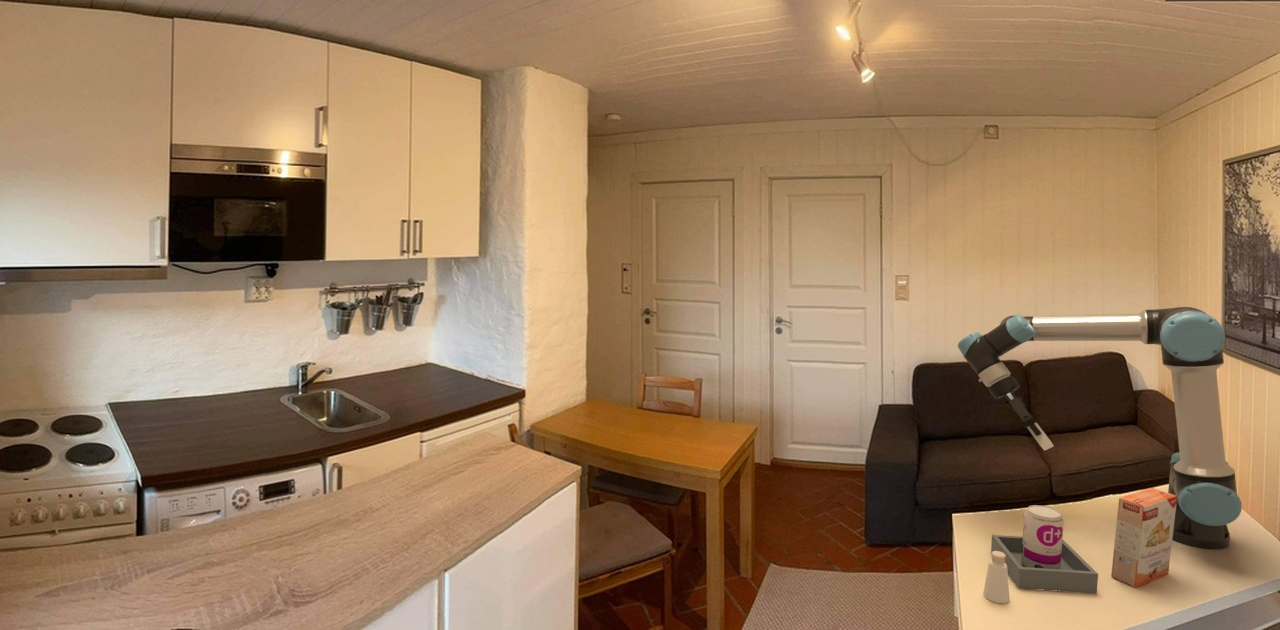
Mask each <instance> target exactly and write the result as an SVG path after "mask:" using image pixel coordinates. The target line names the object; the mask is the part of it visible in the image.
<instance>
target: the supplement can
mask: <svg viewBox="0 0 1280 630" xmlns="http://www.w3.org/2000/svg"><path fill="white" fill-rule="evenodd" d="M1064 522H1065V520H1064V518H1063V516H1062V514H1061V512H1060V511H1059V510H1057V509H1055V508H1053V507H1050V506H1046V505H1042V504H1041V505H1037V504H1034V505H1028V507H1027V509H1026V510H1025V511H1024V515H1023V528H1022V531H1023V532H1022V536H1023V542H1022V558H1021V561H1022V564H1023V565H1025V567H1030V568H1045V569H1060V567H1061V553H1062V539H1063V537H1064V525H1065V523H1064ZM1063 540H1064V539H1063Z"/></svg>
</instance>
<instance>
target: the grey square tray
mask: <svg viewBox="0 0 1280 630" xmlns="http://www.w3.org/2000/svg"><path fill="white" fill-rule="evenodd" d="M1022 542H1023V535H1022V536H1019V535H1005V534H1004V535H1001V534H991V547H990V548H991V549H990V553H991V554H992V552H993V551H1000V552H1002V553H1004V554H1005V555H1006V557H1005V563H1006V565H1007V569H1008V578H1009V579H1010V580H1012V582H1013V584H1014V585H1015V586H1016V587H1017V589H1020V590H1021V589H1022V590H1023V588H1024V589H1025V590H1034V589H1044V590H1043V591H1049V590H1057V591H1056V592H1063V591H1066V593H1078V592H1079V593H1081V594H1092V595H1093V594H1098V583H1099V573H1098V572H1097V571H1096V570H1095V569H1094V568H1093V567H1092V566H1091V565H1090V564H1089V563H1088V562H1087V561H1085V560H1084V559H1083V557H1082V556H1081V555H1079V553H1077V551H1075V549H1073V548H1072V546H1070V545H1069V544H1068V543H1067V542H1066V541H1065V540H1064V539H1062V553H1061V567H1060V569H1045V568H1030V567H1025V565H1023V564H1022V561H1021V558H1022ZM1059 590H1060V591H1059Z"/></svg>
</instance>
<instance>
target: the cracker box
mask: <svg viewBox="0 0 1280 630" xmlns="http://www.w3.org/2000/svg"><path fill="white" fill-rule="evenodd" d="M1176 504H1177V496H1176V495H1173V494H1170V493H1168V491H1163V490H1160V489H1157V488H1154V487H1150V488H1146V489H1143V490H1139V491H1137V492H1134V493H1131V494H1128V495H1124V496H1120V497H1119V498H1118V507H1117V515H1116V526H1115V536H1114V545H1113V553H1112V555H1113V556H1112V565H1111V566H1112V567H1111V578H1114V579H1116V580H1118V581H1120V582H1122V583H1125V584H1127V585H1128V586H1131V587H1134V588H1138V587H1140V586H1143V585H1145V584H1147V583H1150V582H1153V581H1154V580H1157V579H1159V578H1163V577H1165V576H1167V575H1169V571H1170V560H1171V554H1172V545H1173V539H1172V538H1173V529H1174V521H1175V512H1176Z"/></svg>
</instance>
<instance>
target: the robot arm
mask: <svg viewBox="0 0 1280 630" xmlns="http://www.w3.org/2000/svg"><path fill="white" fill-rule="evenodd" d="M1043 341H1044V342H1047V341H1050V342H1054V341H1055V342H1056V341H1057V342H1059V341H1061V342H1066V341H1067V342H1069V341H1070V342H1073V341H1074V342H1083V341H1084V342H1089V341H1091V342H1096V341H1097V342H1098V341H1099V342H1103V341H1105V342H1110V341H1111V342H1113V341H1114V342H1115V341H1116V342H1117V341H1118V342H1120V341H1125V342H1127V341H1128V342H1132V341H1133V342H1135V341H1136V342H1137V341H1138V342H1139V341H1140V342H1141V343H1143V344H1144V345H1159V346H1160V351H1161V360H1162V365H1163V366H1164V367H1166V368H1167V369H1168V370H1170V372H1171V373H1170V374H1171V381H1172V390H1173V401H1174V411H1175V422H1176V429H1177V431H1176V432H1177V440H1178V441H1177V442H1178V449H1179V450H1178V451H1179V452H1174V453H1173V454H1172V455H1171V459H1170V461H1169V464H1170V470H1169V478H1168V488H1167V489H1168V490H1167V493H1170V494H1173V495H1176V496H1177V504H1176V512H1175V521H1174V529H1173V538H1172V541H1173V540H1174V541H1176V542H1178V543H1181V544H1185V545H1188V546H1193V547H1198V548H1203V549H1212V550H1215V549H1217V550H1220V549H1225V548H1228V547H1229V546H1230V544H1231V543H1230V542H1231V534H1230V532H1229V528H1228V526H1227V525H1228V524H1231V523H1233V522H1235V521H1236V520H1237V519H1238V518H1239V517H1240V516H1241V513H1242V507H1243V505H1242V501H1241V498H1240V497H1239V495H1238V493H1237V492H1238V491H1237V481H1236V480H1237V479H1236V471H1235V469H1234V468H1233V467H1232V466H1230V465H1229V463H1228V461H1226V455H1225V453H1226V452H1225V445H1224V433H1223V426H1222V425H1223V424H1222V414H1221V404H1220V395H1219V394H1220V393H1219V385H1218V375H1217V370H1218V369H1219V368H1221V366H1223V365H1224V364H1225V362H1224V350H1223V349H1224V344H1225V341H1226V333H1225V330H1224V328H1223V326H1222V325H1221V324H1220V322H1219V321H1218V320H1217V319H1216V318H1214V317H1213V316H1211V315H1210V314H1208V313H1206V312H1205V311H1204V310H1201V309H1199V308H1196V307H1191V306H1189V307H1188V306H1178V307H1169V308H1156V309H1143V310H1142V311H1140V312H1139V313H1116V314H1115V313H1113V314H1112V313H1111V314H1109V313H1108V314H1075V315H1074V314H1073V315H1069V314H1068V315H1065V314H1064V315H1033V316H1029V315H1025V316H1024V315H1023V316H1022V315H1021V314H1014V315H1008V316H1007V317H1005V318H1003V319H1002V320H1001V322H1000V323H999V325H998V326H996V327H995V328H993V329H992V330H990V331H989V332H986V333H985V334H981V333H980V332H978V331H977V332H973V333H970V334H969V335H966V336H965V337H963V338H962V339H961V340H959V342H958V344H957V348H958V349H959V351H960V352H961V354H962V356H963V357H964V359H965V360H966V362H967V363H968V364H969V366H970V367H971V369H973V370H974V372H975V373H976V375H977V376H978V377H979V378H978V382H980V383H981V382H982V383H983V384H984V385H985V387H987V388H988V389H987V390H988V391H989V393H990V394H991V396H992V397H993V398H994V399H995V400H999V399H1003V398H1004V399H1006V401H1005V404H1006V405H1007V406H1008V408H1009V409H1011V410H1012V411H1013V413H1014V414H1016V415H1018V417H1020V419H1021V421H1022V424H1021V426H1022V427H1023V428H1026V429H1027V430H1028V431H1029V432H1030V434H1031V435H1032V436H1033V438H1034V439H1035V440H1036V442H1037V443H1038V445H1039V446H1040V447H1041V449H1043V451H1044V452H1045V451H1047V450H1049V449H1051V448H1053V447H1054V446H1055V445H1054V444H1053V442H1052V441H1051V440H1050V439H1049V437H1048V435H1047V433H1045V432H1044V430H1043V429H1042V428H1041V424H1040V422H1039V421H1038V422H1036V420H1035V419H1034V417H1033V416H1032V415H1031V414H1030V412H1029V411H1028V410H1027V406H1026V404H1025V403H1024V401H1023V399H1022V397H1021V396H1020V395H1017V394H1016V393H1015V391H1017V390H1019V388H1020V384H1019V383H1018V380H1016V378H1015V377H1014V376H1012V375H1011V374H1012V373H1011V372H1010V370H1009V369H1008V367H1006V365H1005V364H1004V362H1002V360H1001V358H1000V357H1002V356H1003V355H1005V354H1006V353H1008V352H1010V351H1012V350H1014V349H1015V348H1017V347H1019V346H1020V345H1022V344H1024V343H1027V342H1043Z"/></svg>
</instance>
